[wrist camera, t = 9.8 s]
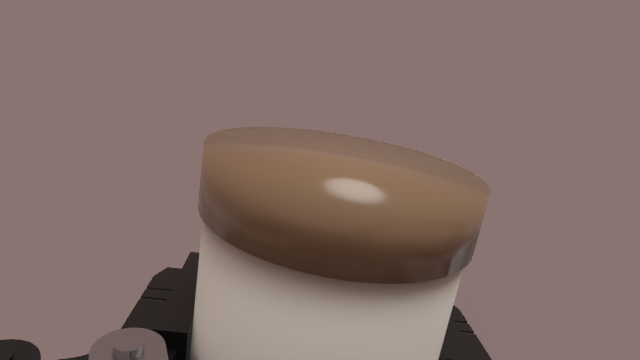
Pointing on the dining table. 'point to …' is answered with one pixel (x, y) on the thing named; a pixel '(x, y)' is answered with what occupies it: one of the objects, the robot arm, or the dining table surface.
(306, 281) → the spice jar
